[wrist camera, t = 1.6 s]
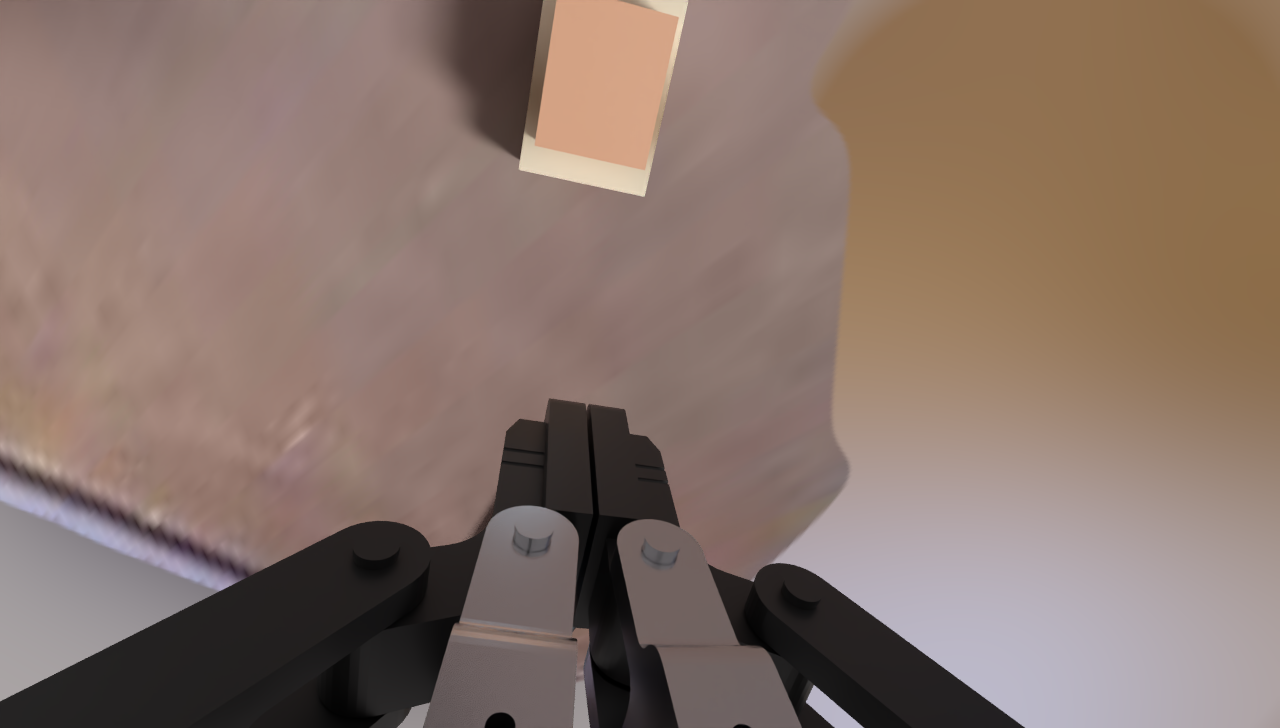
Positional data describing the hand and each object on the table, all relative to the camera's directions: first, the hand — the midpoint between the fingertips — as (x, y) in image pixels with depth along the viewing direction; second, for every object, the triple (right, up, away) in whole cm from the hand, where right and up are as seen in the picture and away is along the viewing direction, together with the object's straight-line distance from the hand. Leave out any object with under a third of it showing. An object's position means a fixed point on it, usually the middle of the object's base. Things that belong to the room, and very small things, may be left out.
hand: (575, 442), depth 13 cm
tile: (0, +12, +10) cm, 16 cm away
